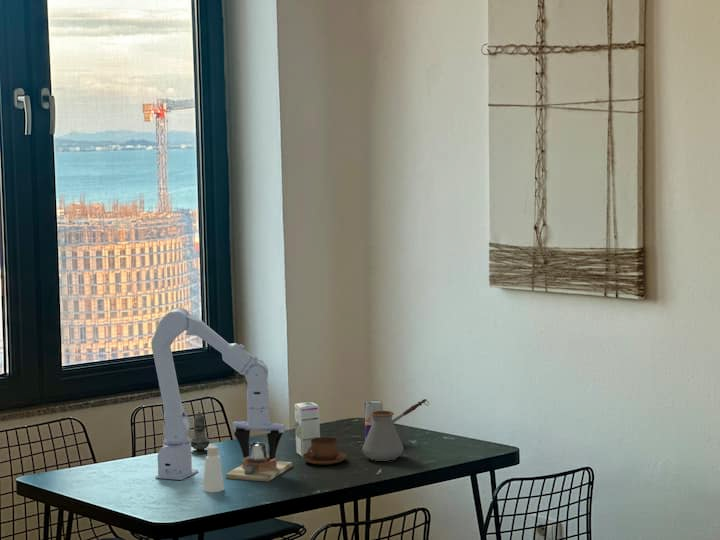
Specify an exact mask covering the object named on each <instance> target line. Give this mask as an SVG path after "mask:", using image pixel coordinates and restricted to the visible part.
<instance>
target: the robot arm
mask: <svg viewBox="0 0 720 540" xmlns="http://www.w3.org/2000/svg"><path fill="white" fill-rule="evenodd" d="M156 328H157V329H156V330H155V331H154V335H153V337H152V340H151V343H150V344H151V350H152V355H153V360H154V364H155V371H156V374H157V375H156V376H157V380H158V381H157V382H158V387H159V390H160V395H161V401H162V407H163V421H164V422H163V423H164V425H163V429H162V430H163V431H162V433H163V434H162V435H163V437H164V439H163V445H162V447H161V448H159V451H158V453H157V475H154V476H155V477H154V478H155V479H164V480H165V479H166V480H175V481H176V480H177V481H179V480H180V481H182V480H184V479H187V478H188V477H190V476H192V475H193V474H196V473H198V472H199V469H195V468H194V469H193V465H192V463H193V461H192V454H191V452H192V446H191V439H192V438H191V437H190V436H189V434H188V433H189V431H190V430H191V426H192V425H191V424H192V423H191V420H190V418H189V417H188V416H187V414H186V411H185V408H184V405H183V403H182V399H181V393H180V388H179V384H178V383H179V382H178V376H177V373H176V367H175V362H174V357H173V352H172V348H171V346H172V344H173V343H174V341H175V340H176V339H177V338H178V337H179V336H180V335H181V334H183V333H184V332H185V331H186V332H185V335H186V336H197V337H198V338H200V339H201V340H203V341H204V342H206V344H208V345H209V346H211V347H212V348H214V349H215V350H217V352H219V353H221V357H222V361H223V362H224V363H225V364H227V365H229V366H230V368H231V369H234V371H236V372H238V374H240V375H242V376H245V380H246V382H247V390H246V408H247V409H246V412H247V415H246V417H247V418H246V419H247V421H246V420H245V421H240V420H238V421H237V420H236V421H233V422H232V423H231V424H232V425H231V429H232V430H234V434H233V435H234V436H235V438H236V440H237V443H238V444H239V446H240V449H241V453H242V456H243V458H247V457H250V434H251V431H259V432H269V433H267V434H266V437H267V441H268V442H267V443H268V448H269V449H268V455H269V458H270V459H274V458H275V459H276V453H277V449H278V446H279V443H280V440H281V438H282V436H283V434H284V433H285V432H286V424H285V423H278V422H272V421H270V411H269V410H270V407H269V406H270V404H269V403H270V402H269V389H268V387H269V384H268V379H269V368H268V366H267V363H265V362H264V361H263V360H259V357H258V356H257V355H256V356H253V355H252V353H249V352H248V351H247V350H246V349H244V348H245V345H243V344H242V343H240V344H238V343H236V342H234V343H229V342H228V341H227V340H225V339H224V338H223V337H222V336H221V335H219V334H218V333H217V332H216V331H215V330H214V329H212V328H211V327H210V326H208V325H207V323H205V321H203V320H202V319H200V318H199V317H197V316H196V315H195V314H193V313H189V311H187V309H184V308H182V307H175V308H172V309H171V310H170V311H168V312H167V313H166V314H165V315H164V317H163V318H161V319H160V321H159V322H158V325H157V327H156Z"/></svg>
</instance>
